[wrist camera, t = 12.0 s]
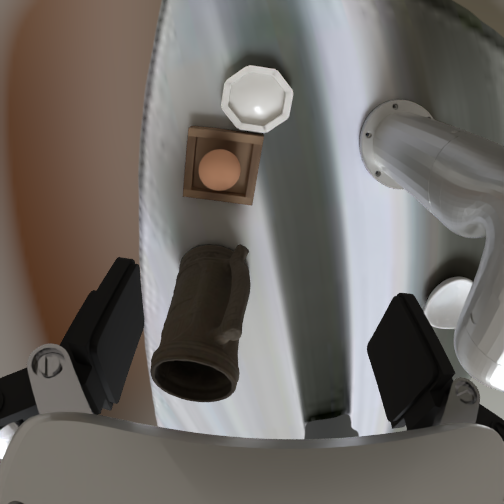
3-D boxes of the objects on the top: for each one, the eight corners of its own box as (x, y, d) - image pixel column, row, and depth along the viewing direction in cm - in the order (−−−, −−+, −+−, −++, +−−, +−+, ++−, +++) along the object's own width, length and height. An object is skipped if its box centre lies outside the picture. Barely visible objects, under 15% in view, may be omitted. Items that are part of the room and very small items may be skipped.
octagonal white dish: (294, 73, 32) (297, 73, 30) (283, 134, 36) (285, 136, 34) (228, 63, 31) (227, 62, 29) (219, 124, 35) (218, 126, 34)
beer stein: (231, 309, 51) (223, 414, 34) (171, 287, 49) (139, 389, 32) (272, 236, 43) (283, 343, 26) (202, 207, 41) (167, 305, 24)
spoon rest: (408, 310, 52) (421, 337, 46) (440, 261, 46) (459, 285, 40) (475, 323, 55) (488, 344, 49) (503, 284, 49) (519, 304, 43)
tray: (263, 134, 36) (263, 137, 34) (252, 199, 41) (252, 205, 39) (191, 125, 35) (188, 128, 34) (186, 191, 40) (182, 196, 38)
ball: (245, 148, 36) (241, 157, 32) (239, 185, 39) (235, 199, 34) (205, 143, 36) (196, 151, 32) (201, 180, 38) (192, 193, 34)
